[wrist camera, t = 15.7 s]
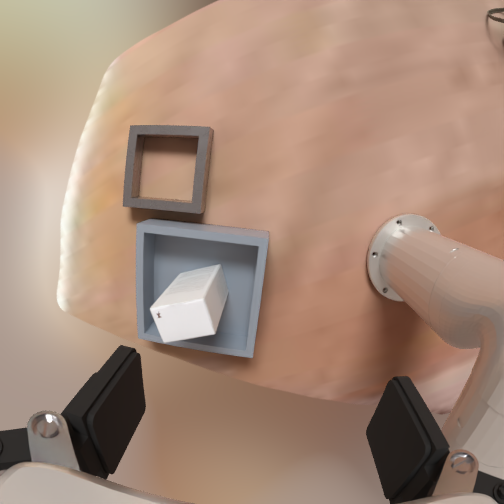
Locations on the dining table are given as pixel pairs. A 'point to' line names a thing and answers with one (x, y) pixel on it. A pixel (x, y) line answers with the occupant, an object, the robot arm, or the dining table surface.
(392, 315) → the dining table surface
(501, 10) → the green yellow looped piece
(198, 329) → the skincare box
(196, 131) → the collar
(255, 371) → the dining table surface
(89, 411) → the robot arm
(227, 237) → the bin
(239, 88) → the dining table surface
